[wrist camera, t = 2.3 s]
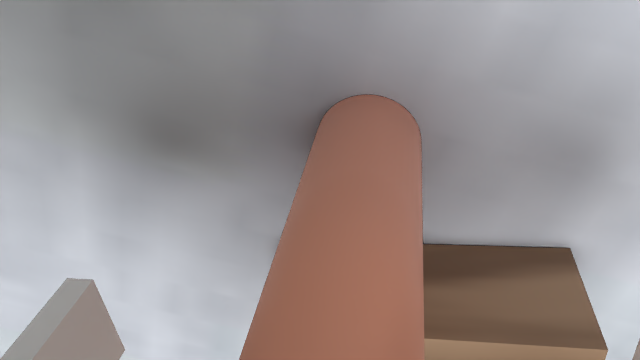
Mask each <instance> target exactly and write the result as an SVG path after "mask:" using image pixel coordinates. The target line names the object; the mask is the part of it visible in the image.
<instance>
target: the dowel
mask: <svg viewBox="0 0 640 360" xmlns="http://www.w3.org/2000/svg"><path fill="white" fill-rule="evenodd" d="M239 360H425V354H424V285H423V216H422V147H421V134H420V130H419V127H418V124H417V123H416V121H415V119H414V118H413V116H412V115H411V114H410V113H409V112H408V111H407V110H406V109H405V108H404V107H403V106H401V105H400V104H399V103H397V102H395V101H393V100H391V99H388V98H386V97H382V96H377V95H357V96H352V97H349V98H346V99H344V100H342V101H340V102H338V103H337V104H335V105H334V106H333V107H331V108H330V109H329V110H328V111H327V113H326V114H325V115H324V117H323V118H322V120H321V122H320V124H319V127H318V130H317V133H316V136H315V139H314V142H313V145H312V148H311V150H310V153H309V156H308V159H307V162H306V165H305V168H304V171H303V174H302V177H301V180H300V183H299V186H298V189H297V191H296V194H295V197H294V200H293V203H292V206H291V209H290V212H289V215H288V218H287V221H286V224H285V227H284V230H283V232H282V235H281V238H280V241H279V244H278V247H277V250H276V253H275V256H274V259H273V262H272V265H271V268H270V271H269V273H268V276H267V279H266V282H265V285H264V288H263V291H262V294H261V297H260V300H259V303H258V306H257V309H256V312H255V314H254V317H253V320H252V323H251V326H250V329H249V332H248V335H247V338H246V341H245V344H244V347H243V350H242V353H241V356H240V358H239Z"/></svg>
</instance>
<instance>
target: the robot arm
mask: <svg viewBox="0 0 640 360" xmlns="http://www.w3.org/2000/svg"><path fill="white" fill-rule="evenodd" d="M124 351H125V349H124V346H123V344H122V342H121V340H120V338H119V335H118V333H117V331H116V329H115V327H114V324H113V322H112V320H111V318H110V316H109V313H108V311H107V309H106V307H105V305H104V302H103V300H102V298H101V296H100V294H99V291H98V289H97V287H96V285H95V283H94V280H92V279H72V278H67V279H66V280H65V281H64V283H63V284H62V285H61V286H60V287H59V289H58V290H57V291H56V292H55V293H54V295H53V296H52V297H51V298H50V299H49V301H48V302H47V303H46V304H45V306H44V307H43V308H42V309H41V310H40V312H39V313H38V314H37V315H36V316H35V318H34V319H33V320H32V321H31V322H30V324H29V325H28V326H27V327H26V329H25V330H24V331H23V332H22V333H21V335H20V336H19V337H18V338H17V339H16V341H15V342H14V343H13V344H12V345H11V347H10V348H9V349H8V350H7V351H6V353H5V354H4V355H3V356H2V358H1V359H0V360H119V359H120V357H121V356H122V354H123V352H124ZM632 360H640V340H639V342H638V345H637V348H636V351H635V354H634V356H633V359H632Z"/></svg>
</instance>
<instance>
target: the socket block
mask: <svg viewBox="0 0 640 360" xmlns="http://www.w3.org/2000/svg"><path fill="white" fill-rule="evenodd" d="M423 285H424V354H425V360H605V358H606V355H607V352H608V349H607V346H606V343H605V340H604V338H603V335H602V332H601V330H600V327H599V324H598V322H597V319H596V316H595V314H594V311H593V308H592V306H591V303H590V300H589V298H588V295H587V292H586V290H585V287H584V284H583V282H582V279H581V276H580V273H579V271H578V268H577V265H576V263H575V260H574V257H573V255H572V252H571V249H570V248H540V247H505V246H470V245H434V244H423Z"/></svg>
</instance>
